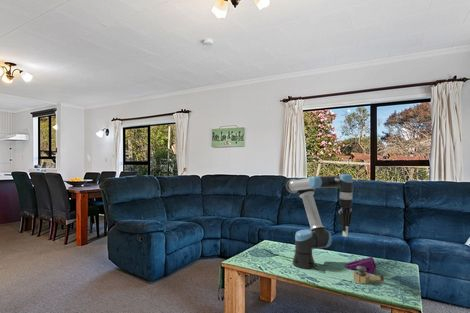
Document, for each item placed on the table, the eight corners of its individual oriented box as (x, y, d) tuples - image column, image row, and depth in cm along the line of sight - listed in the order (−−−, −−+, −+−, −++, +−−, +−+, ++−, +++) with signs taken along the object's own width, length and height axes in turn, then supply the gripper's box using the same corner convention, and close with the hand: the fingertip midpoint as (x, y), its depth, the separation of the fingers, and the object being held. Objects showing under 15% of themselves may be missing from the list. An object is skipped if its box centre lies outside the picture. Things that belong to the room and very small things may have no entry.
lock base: (338, 284, 166) (338, 269, 166) (335, 275, 179) (335, 261, 179) (390, 290, 159) (390, 275, 159) (383, 280, 172) (383, 265, 172)
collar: (355, 282, 166) (355, 274, 166) (352, 276, 174) (352, 269, 174) (385, 285, 162) (385, 277, 162) (381, 279, 170) (381, 272, 170)
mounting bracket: (349, 280, 186) (376, 274, 177) (343, 267, 188) (370, 261, 179) (352, 275, 194) (378, 269, 185) (346, 263, 196) (372, 256, 187)
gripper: (344, 200, 169) (343, 239, 169) (357, 198, 176) (356, 236, 176) (334, 198, 175) (333, 236, 176) (347, 197, 182) (346, 233, 183)
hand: (345, 236), depth 176 cm, fingers closed
